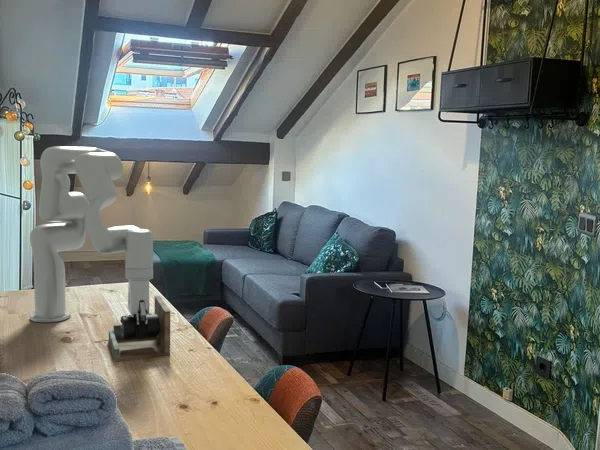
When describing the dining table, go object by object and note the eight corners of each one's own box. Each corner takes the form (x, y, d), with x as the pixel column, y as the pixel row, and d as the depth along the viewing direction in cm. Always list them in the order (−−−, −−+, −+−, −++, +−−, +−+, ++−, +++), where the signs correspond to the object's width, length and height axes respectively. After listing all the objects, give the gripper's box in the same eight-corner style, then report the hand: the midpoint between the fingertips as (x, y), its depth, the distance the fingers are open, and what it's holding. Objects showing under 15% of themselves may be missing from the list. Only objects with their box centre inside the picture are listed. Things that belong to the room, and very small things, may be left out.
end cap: (124, 344, 169) (124, 320, 169) (119, 337, 176) (118, 314, 175) (160, 340, 174) (160, 316, 173) (153, 333, 180) (153, 310, 179)
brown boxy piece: (108, 341, 184) (108, 298, 182) (159, 336, 189) (159, 295, 188) (114, 361, 167) (114, 315, 166) (170, 356, 173) (170, 311, 171)
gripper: (122, 267, 179) (122, 326, 181) (129, 280, 163) (129, 344, 165) (148, 266, 182) (148, 324, 184) (158, 278, 166) (158, 341, 168)
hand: (139, 333), depth 175 cm, fingers closed on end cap, 7 cm apart
